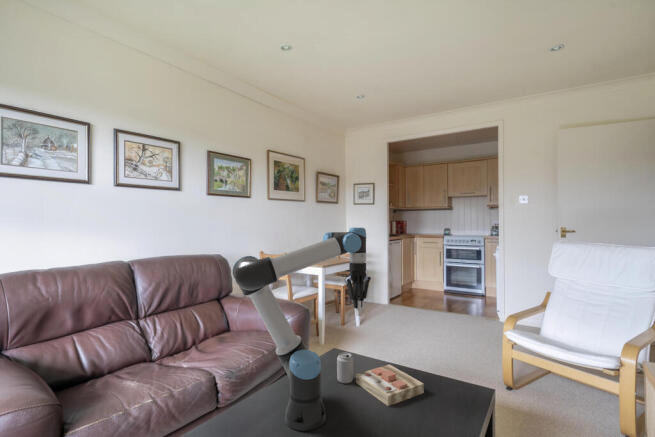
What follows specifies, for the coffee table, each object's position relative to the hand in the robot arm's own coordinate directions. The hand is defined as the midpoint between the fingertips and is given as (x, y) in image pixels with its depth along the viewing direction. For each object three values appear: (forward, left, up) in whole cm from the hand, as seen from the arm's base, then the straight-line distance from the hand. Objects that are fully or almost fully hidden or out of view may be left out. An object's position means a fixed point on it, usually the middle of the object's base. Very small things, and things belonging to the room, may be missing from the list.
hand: (358, 315), depth 144 cm
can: (-1, +9, -33) cm, 34 cm away
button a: (+12, -13, -31) cm, 36 cm away
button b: (+12, -6, -30) cm, 32 cm away
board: (+12, -6, -32) cm, 35 cm away
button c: (+12, +1, -31) cm, 33 cm away
